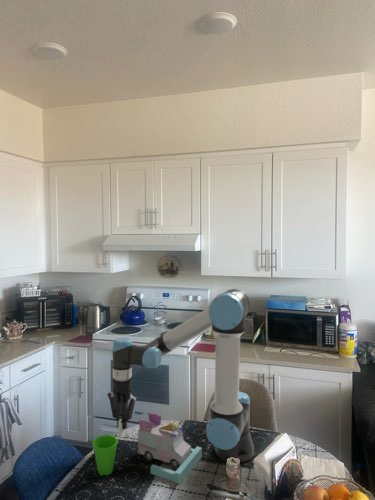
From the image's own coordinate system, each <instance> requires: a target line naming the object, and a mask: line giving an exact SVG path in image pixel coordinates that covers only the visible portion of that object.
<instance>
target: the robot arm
mask: <svg viewBox="0 0 375 500" xmlns="http://www.w3.org/2000/svg"><path fill="white" fill-rule="evenodd" d="M250 309H251V302H250V298H249V296H248V295H247V294H246V293H245V292H244V291H242V290H241V289H237V288H233V289H229V290H226V291H224V292H222V293H219V294H217V295H216V296H215V297H214V298H213V300H212V301H211V302H210V305H209V307H208V308H206V309H204V310H203V311H201V312H199V313H198V314H196V315H194V316H192V317H191V318H188V320H187V319H186V320H185V321H184V322H182V323H181V324H179V325H177V326H175V327H174V328H172V329H170V330H168V331H167V332H165V333H163V334H161V335H160V336H158V337H156V338H155V339H153V340H151V341H150V342H148V343H146V344H144V345H136V344H133V340H132V339H131V338H130V337H118V338H115V339H114V340H113V342H112V391H109V392H108V393H107V397H108V399H109V403H110V409H111V415H112V416H111V417H112V418H113V419H116V428H117V429H118V430H117V431H118V436H117V437H118V438H119V439H123V438H124V437H125V436H126V435H127V434H126V429H128V428H127V427H128V421H130V420H131V419H132V417H133V412H134V408H135V403H136V402H137V400H138V397H137V396H134V395H133V392H132V387H133V383H132V382H133V381H132V380H133V379H132V376H133V372H132V371H133V366H137V367H141V368H147V369H156V368H159V366H160V364H161V362H162V359H163V357H164V356H165V355H168V354H169V353H170V352H172V351H174V350H175V349H178V348H179V347H181V346H183V345H184V344H186V343H188V342H191V340H194V339H196V338H197V337H199V336H201V335H203V334H204V333H206V332H208V331H209V330H211V331H212V333H214V334H215V358H214V360H215V362H214V363H215V365H214V397H213V398H214V400H213V401H211V402H210V405H209V421H208V422H207V424H206V426H205V434H206V437H207V440H208V441H209V442H210V443H211V445H213V446H214V451H215V454H216V455H217V456H218V457H219V458H220V459H221V460H223V461H226V460H227V459H228V458H230V457H234V458H239V459H240V461H241V462H240V463H244V462H247V461H249V460H251V459H252V458H253V457H254V455H255V446H254V442H253V439H252V436H251V432H250V417H251V416H250V414H251V413H250V412H251V411H250V408H251V407H250V406H251V402H250V401H251V400H250V396H249V395H248V394H247V393H244V392H242V391H240V366H241V365H240V360H241V359H240V357H241V336H243V334H244V333H245V332H246V316H247V315H248V314H249V312H250Z"/></svg>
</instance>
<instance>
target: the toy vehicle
mask: <svg viewBox="0 0 375 500" xmlns="http://www.w3.org/2000/svg"><path fill="white" fill-rule="evenodd" d="M147 415H148V420H144V419H138V425H139V428H138V431H137V435H138V436H137V438H138V439H137V440H138V441H137V442H138V443H137V444H138V445H137V448H138V449H137V452H136V453H137V454H140V455H142V456H143V459H146V461H149V462H151V461H152V460H153V459H155V460H159V461H162V462H165V463H168V464H169V463H170V466H171V467H172V469H175V470H177V469H178V468H179V467H180V466H181V465H182V463H183V462H184V461H185V460H186V459H187V458H188V456H189V455H190V454H191V448H192V446H191V445H190V444H189V443H188V442H186V441H185V437H184V434H183V431H184V428H183V427H179V425H178V423H177V422H170V423H168V424H166V425H165V424H161V423H162V421H161V420H162V415H161V414H160V415H159V414H156V413H152V412H147Z"/></svg>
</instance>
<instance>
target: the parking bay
mask: <svg viewBox="0 0 375 500" xmlns="http://www.w3.org/2000/svg"><path fill="white" fill-rule="evenodd" d="M202 448H203V447H200V446H196V447H195V448H192V447H191V454H190V455H189V456H188V458H187V459H186V460H185V461H184V462H183V463H182V465H181V466H180V467H179V468H178V469H175V471H174V470H172V469H169V468H166V467H164V466H163V467H162V466H159V465H156V464H152V465H151V466H150V474H151V475H154V476H157V477H160V478H163V479H166V480H168V481H173V482H174V483H175V484H178V485H180V484H182V482H183V481H184V479H185V478H186V477H187V476H188V475H189V474H190V472H191V471H192V470H193V469H194V467H195V466H196V464H197V463H199V461H200V459H202V457H203V449H202Z"/></svg>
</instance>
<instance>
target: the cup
mask: <svg viewBox="0 0 375 500" xmlns="http://www.w3.org/2000/svg"><path fill="white" fill-rule="evenodd" d="M117 437H118V436H115V435H113V434H103V435H100V436H97V437H95V438H94V439H93V440H92V443H91V445H92V446H93V452H94V456H95V457H94V458H95V463H96V468H97V473H98V474H99V475H100V476H103V475H105V476H109V475H110V474H112V473H113V471H114V466H115V465H114V464H115V458H116V451H117V445H118V443H119V440H118V438H117Z"/></svg>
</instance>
